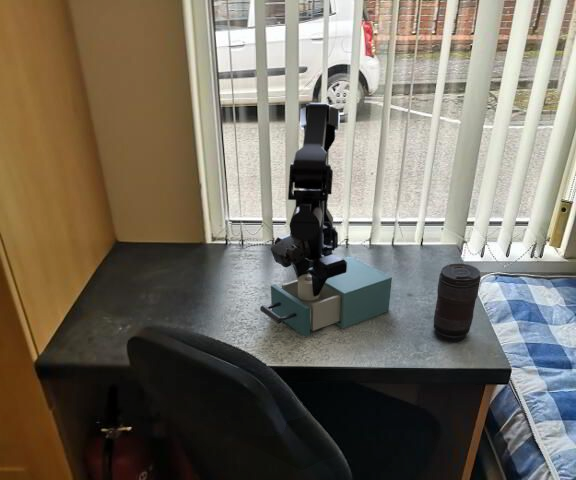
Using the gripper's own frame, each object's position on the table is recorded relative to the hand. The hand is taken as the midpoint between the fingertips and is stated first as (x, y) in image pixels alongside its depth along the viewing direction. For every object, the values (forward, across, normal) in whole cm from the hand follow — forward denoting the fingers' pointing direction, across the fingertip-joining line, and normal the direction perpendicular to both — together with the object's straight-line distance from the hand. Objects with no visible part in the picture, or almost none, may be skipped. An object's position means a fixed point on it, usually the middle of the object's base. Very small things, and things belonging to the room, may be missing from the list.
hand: (308, 291), depth 125 cm
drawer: (+6, 0, -2) cm, 7 cm away
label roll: (+1, 0, 0) cm, 1 cm away
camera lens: (+8, +23, +21) cm, 32 cm away
